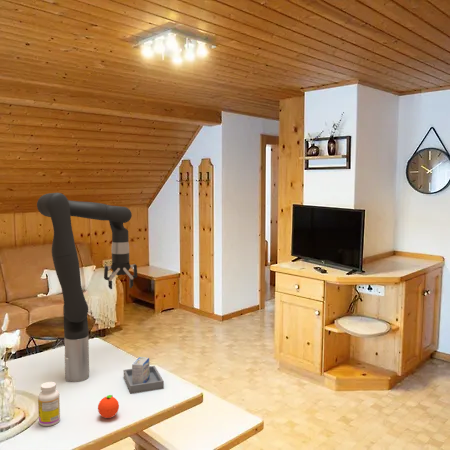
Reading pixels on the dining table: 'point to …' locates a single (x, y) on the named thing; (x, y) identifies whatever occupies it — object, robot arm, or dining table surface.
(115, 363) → the dining table surface
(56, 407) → the supplement bottle
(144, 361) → the medicine box
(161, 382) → the tray
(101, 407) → the clementine
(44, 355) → the dining table surface
